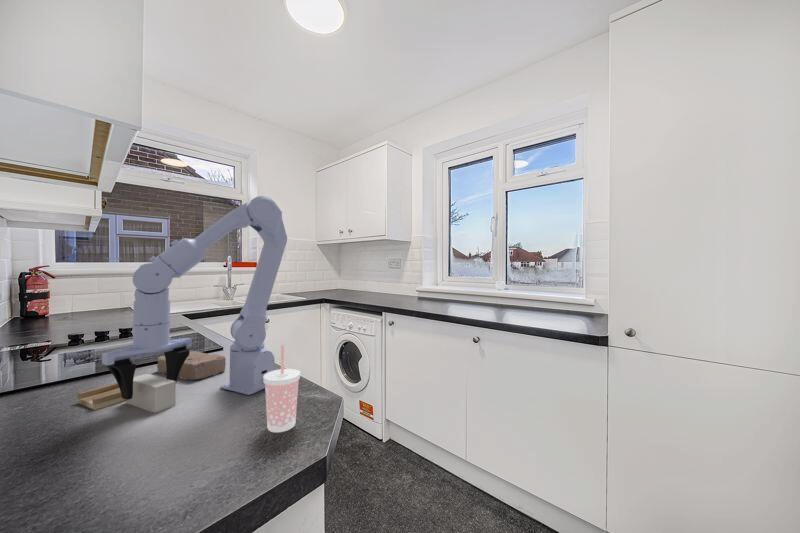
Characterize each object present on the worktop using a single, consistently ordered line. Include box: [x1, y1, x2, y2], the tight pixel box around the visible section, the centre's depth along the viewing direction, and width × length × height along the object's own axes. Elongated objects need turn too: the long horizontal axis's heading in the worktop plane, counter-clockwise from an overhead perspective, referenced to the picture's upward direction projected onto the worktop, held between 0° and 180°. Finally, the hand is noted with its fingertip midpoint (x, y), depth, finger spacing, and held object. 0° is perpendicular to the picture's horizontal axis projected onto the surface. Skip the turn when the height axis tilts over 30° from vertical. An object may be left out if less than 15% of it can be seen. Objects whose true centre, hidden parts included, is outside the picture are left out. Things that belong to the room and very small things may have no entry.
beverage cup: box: [263, 344, 301, 433], centre depth 53 cm, size 6×6×14 cm
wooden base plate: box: [77, 382, 127, 411], centre depth 64 cm, size 7×11×2 cm, turn 156°
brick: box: [156, 350, 227, 381], centre depth 80 cm, size 17×8×5 cm, turn 66°
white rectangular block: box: [126, 373, 177, 414], centre depth 61 cm, size 10×4×5 cm, turn 66°
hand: (150, 391), depth 61 cm, fingers open, 7 cm apart
